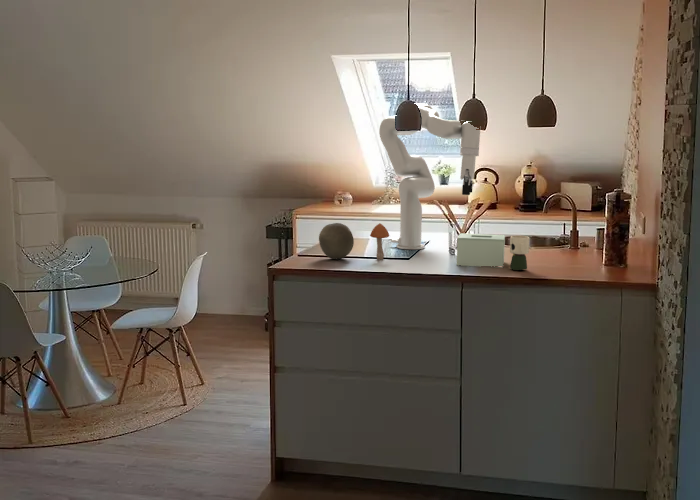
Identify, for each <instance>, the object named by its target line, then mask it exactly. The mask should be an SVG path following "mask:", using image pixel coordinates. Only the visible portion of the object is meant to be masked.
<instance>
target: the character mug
mask: <svg viewBox="0 0 700 500" xmlns="http://www.w3.org/2000/svg"><path fill="white" fill-rule="evenodd" d="M509 242H510V243H509V252H510V253H511V254H512V256H511V261H510V270H512V269H513V270H514V271H518V270H520V271H521V270H528V264H527V257H526V255H528V254H529V252H530V251H529V250H530V236H528V235H527V236H526V235H510V240H509Z"/></svg>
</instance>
